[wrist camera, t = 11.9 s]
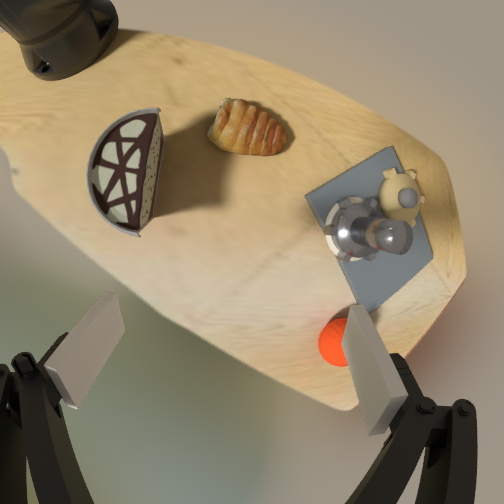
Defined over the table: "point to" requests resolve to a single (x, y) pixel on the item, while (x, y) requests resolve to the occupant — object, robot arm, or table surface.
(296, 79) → the table surface
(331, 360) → the clementine
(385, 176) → the gear board
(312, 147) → the table surface
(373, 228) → the gear
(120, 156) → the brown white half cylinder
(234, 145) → the pastry
